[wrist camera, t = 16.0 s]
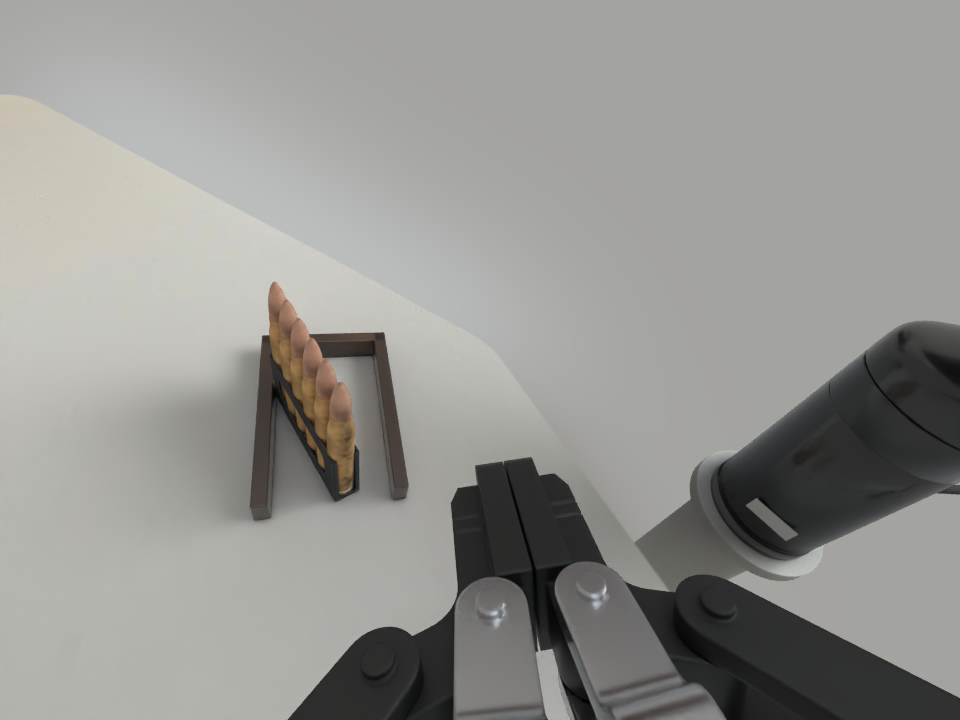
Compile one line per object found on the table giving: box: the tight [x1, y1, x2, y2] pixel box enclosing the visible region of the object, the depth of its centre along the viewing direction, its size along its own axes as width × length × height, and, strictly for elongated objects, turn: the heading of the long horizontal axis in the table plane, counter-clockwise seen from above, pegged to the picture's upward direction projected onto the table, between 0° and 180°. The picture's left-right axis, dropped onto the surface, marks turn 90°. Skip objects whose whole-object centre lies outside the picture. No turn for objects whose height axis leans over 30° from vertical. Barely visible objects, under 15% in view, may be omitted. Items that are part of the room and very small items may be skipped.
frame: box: [250, 332, 408, 520], centre depth 35 cm, size 10×15×2 cm, turn 15°
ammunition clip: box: [268, 282, 359, 502], centre depth 30 cm, size 11×2×12 cm, turn 38°
